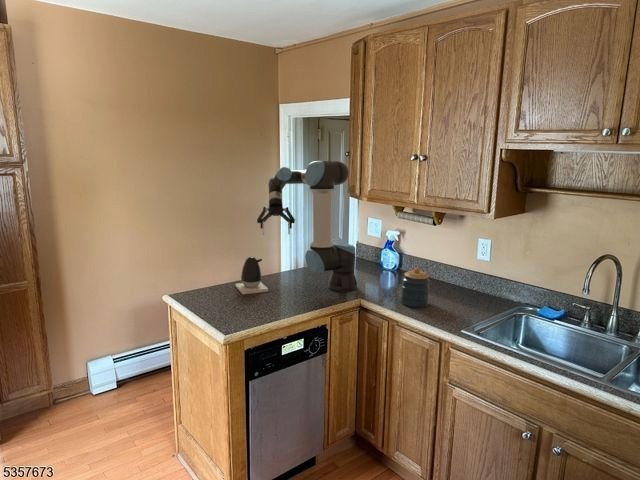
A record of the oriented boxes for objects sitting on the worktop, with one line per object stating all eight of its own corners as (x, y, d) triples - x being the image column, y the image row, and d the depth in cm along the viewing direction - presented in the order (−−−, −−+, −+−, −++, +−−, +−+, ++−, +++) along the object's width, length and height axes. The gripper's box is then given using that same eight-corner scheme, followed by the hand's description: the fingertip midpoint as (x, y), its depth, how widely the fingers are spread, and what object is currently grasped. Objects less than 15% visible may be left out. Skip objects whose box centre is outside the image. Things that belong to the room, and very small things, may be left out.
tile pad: (268, 291, 220) (268, 288, 220) (242, 294, 215) (242, 291, 215) (260, 283, 232) (260, 281, 232) (235, 286, 226) (235, 283, 226)
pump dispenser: (260, 289, 218) (260, 259, 215) (239, 288, 218) (239, 259, 215) (263, 283, 228) (263, 254, 225) (243, 282, 228) (243, 254, 225)
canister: (411, 309, 202) (414, 272, 198) (394, 300, 214) (397, 265, 210) (433, 306, 208) (437, 270, 204) (416, 297, 219) (419, 263, 215)
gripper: (297, 205, 252) (299, 236, 241) (253, 205, 249) (252, 237, 237) (298, 197, 246) (300, 229, 234) (252, 197, 243) (252, 229, 231)
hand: (276, 233), depth 236 cm, fingers open, 13 cm apart
